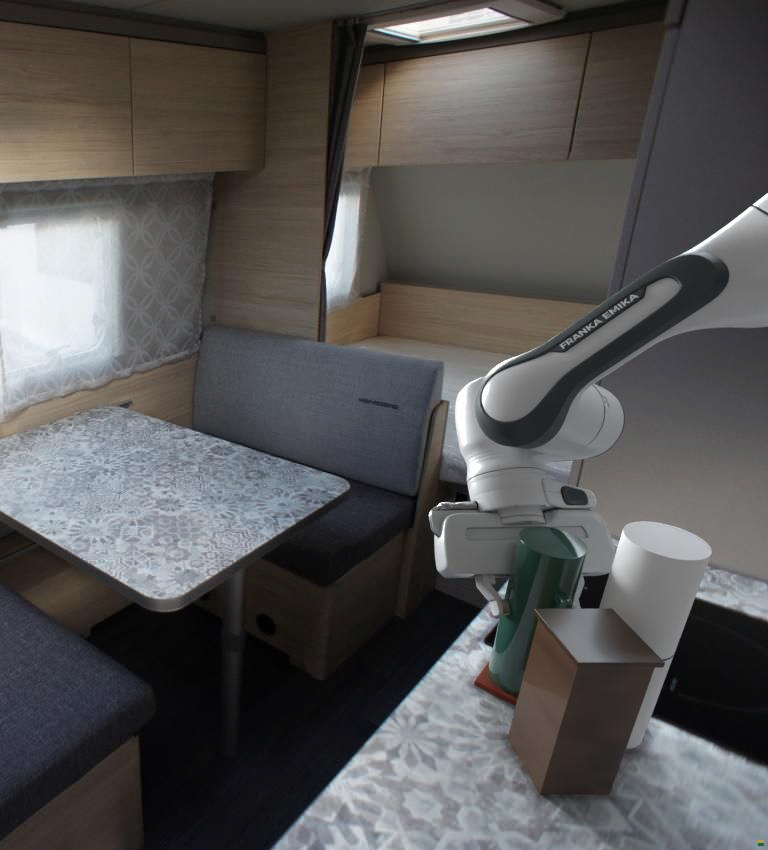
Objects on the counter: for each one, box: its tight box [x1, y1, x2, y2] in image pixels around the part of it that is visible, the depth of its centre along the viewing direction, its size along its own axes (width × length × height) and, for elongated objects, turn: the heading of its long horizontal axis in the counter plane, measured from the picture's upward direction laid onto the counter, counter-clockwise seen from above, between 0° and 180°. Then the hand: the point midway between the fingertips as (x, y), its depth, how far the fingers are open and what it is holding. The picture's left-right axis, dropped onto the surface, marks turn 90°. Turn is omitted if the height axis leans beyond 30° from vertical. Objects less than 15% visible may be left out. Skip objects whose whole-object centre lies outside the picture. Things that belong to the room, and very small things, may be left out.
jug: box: [488, 526, 587, 697], centre depth 78 cm, size 8×7×20 cm
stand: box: [507, 608, 665, 796], centre depth 69 cm, size 8×8×18 cm
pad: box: [473, 660, 518, 706], centre depth 83 cm, size 8×7×1 cm
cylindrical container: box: [598, 520, 713, 750], centre depth 72 cm, size 7×7×25 cm
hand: (537, 615), depth 78 cm, fingers closed on jug, 7 cm apart
